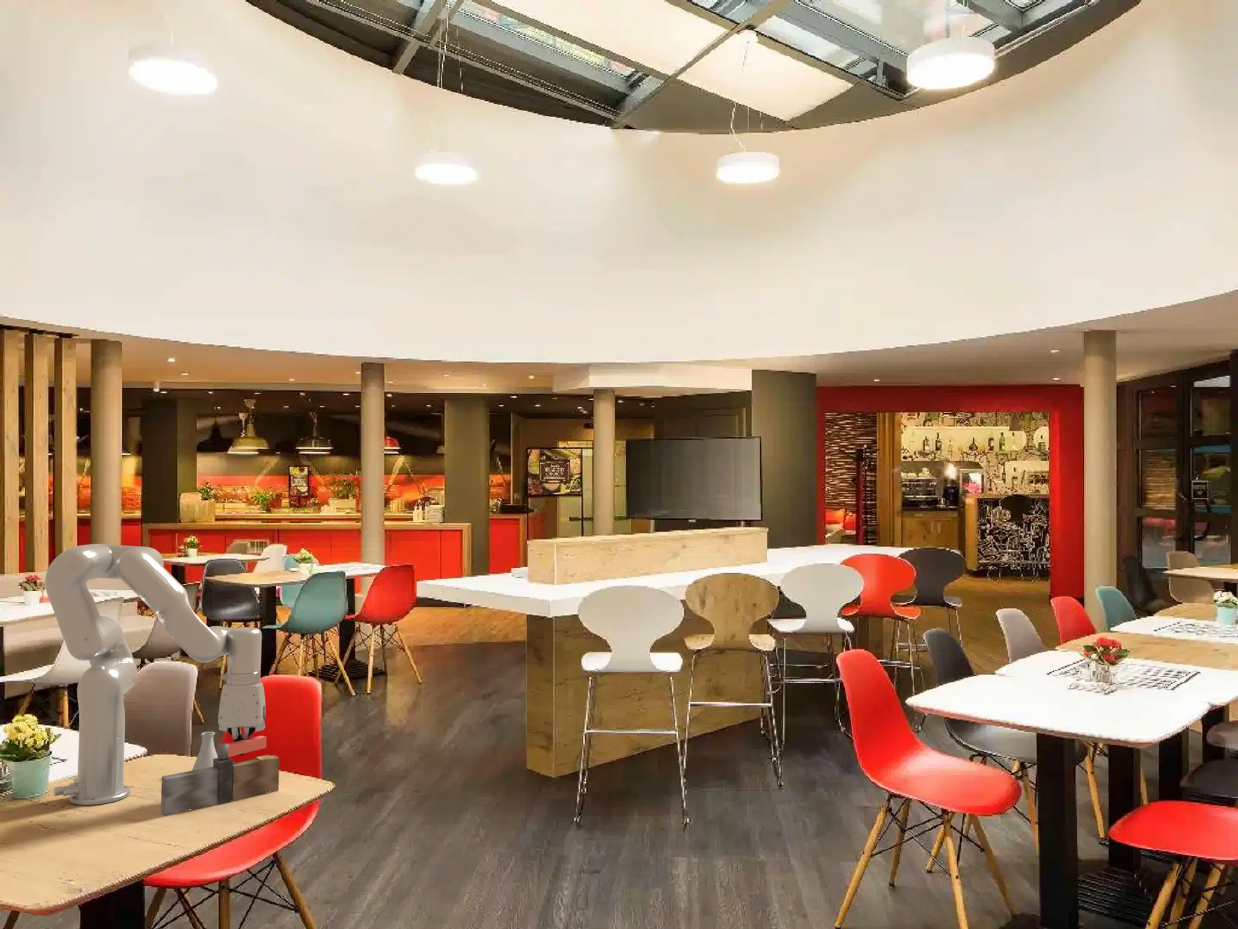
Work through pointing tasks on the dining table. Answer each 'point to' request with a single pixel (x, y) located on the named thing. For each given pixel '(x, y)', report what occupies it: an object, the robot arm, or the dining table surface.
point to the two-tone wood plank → (219, 783)
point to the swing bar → (241, 747)
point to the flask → (206, 752)
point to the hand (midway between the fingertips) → (241, 754)
